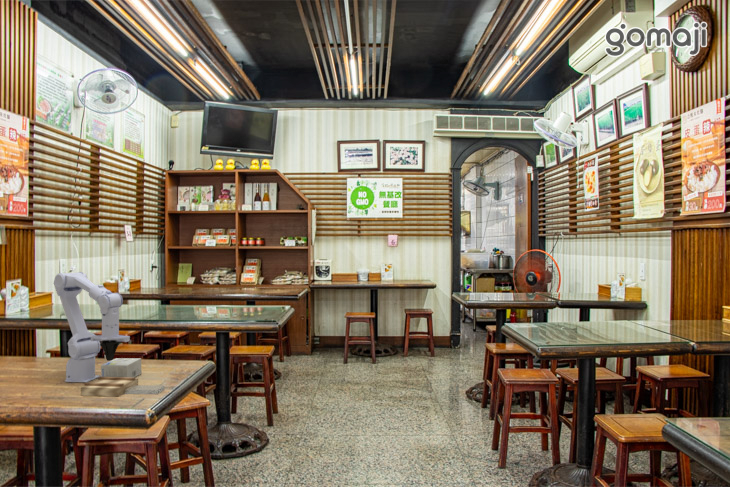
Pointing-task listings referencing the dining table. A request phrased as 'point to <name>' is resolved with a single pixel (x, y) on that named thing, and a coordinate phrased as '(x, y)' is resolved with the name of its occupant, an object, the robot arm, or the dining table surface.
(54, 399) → the dining table surface
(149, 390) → the cover plate
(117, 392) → the slide box
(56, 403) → the dining table surface
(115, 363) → the light bulb box
